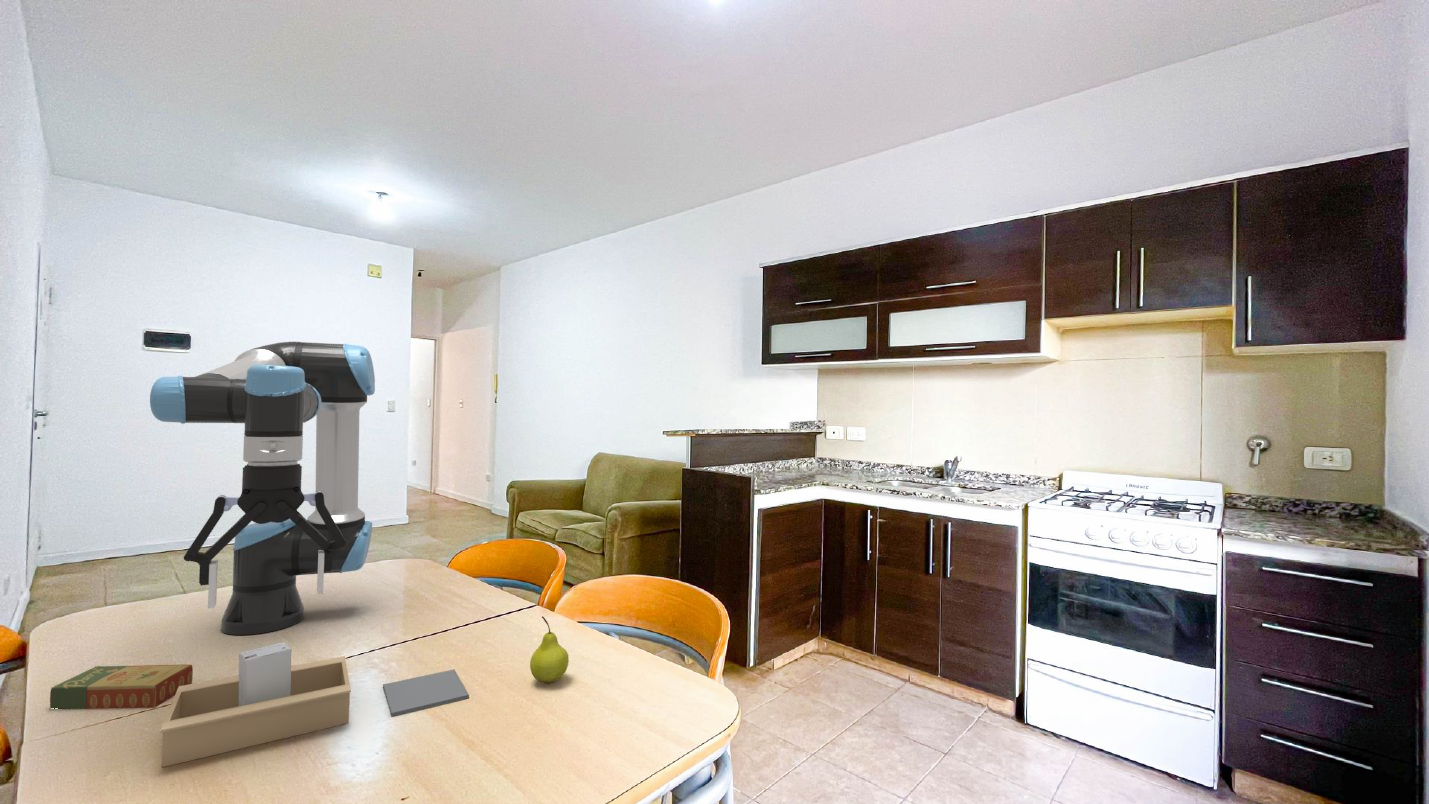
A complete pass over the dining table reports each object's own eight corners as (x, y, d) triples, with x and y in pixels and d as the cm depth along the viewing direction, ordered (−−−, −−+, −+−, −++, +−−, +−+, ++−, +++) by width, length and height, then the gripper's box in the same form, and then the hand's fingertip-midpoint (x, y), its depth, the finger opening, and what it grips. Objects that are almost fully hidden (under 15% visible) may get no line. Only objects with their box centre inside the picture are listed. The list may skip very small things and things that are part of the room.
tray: (177, 724, 94) (178, 686, 94) (343, 690, 107) (344, 656, 107) (158, 774, 82) (160, 730, 82) (349, 728, 94) (350, 690, 94)
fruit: (575, 677, 114) (576, 613, 114) (554, 692, 108) (556, 625, 108) (544, 671, 116) (546, 609, 117) (522, 686, 110) (524, 620, 110)
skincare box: (282, 714, 98) (285, 639, 98) (291, 724, 95) (293, 647, 95) (235, 729, 93) (238, 650, 93) (242, 740, 90) (245, 659, 91)
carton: (153, 710, 99) (154, 684, 99) (47, 712, 98) (48, 686, 98) (193, 686, 107) (193, 662, 107) (95, 688, 106) (96, 664, 106)
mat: (383, 687, 108) (383, 684, 108) (454, 672, 115) (454, 669, 115) (391, 716, 98) (391, 713, 98) (468, 698, 105) (469, 694, 105)
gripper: (162, 468, 84) (156, 619, 84) (366, 462, 99) (362, 592, 98) (171, 463, 91) (166, 604, 90) (362, 459, 105) (358, 581, 105)
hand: (268, 598), depth 94 cm, fingers open, 13 cm apart
